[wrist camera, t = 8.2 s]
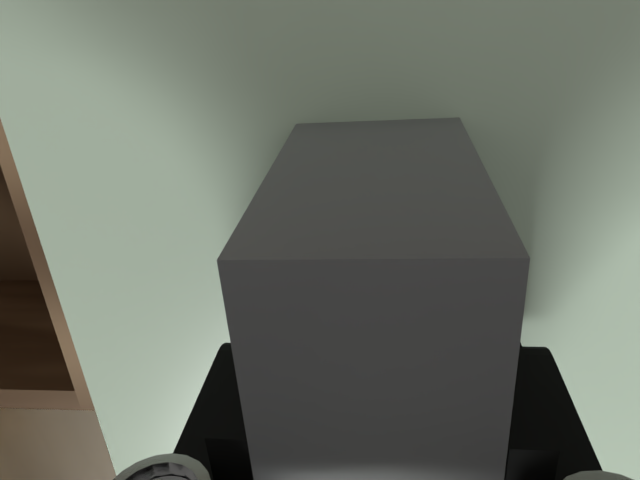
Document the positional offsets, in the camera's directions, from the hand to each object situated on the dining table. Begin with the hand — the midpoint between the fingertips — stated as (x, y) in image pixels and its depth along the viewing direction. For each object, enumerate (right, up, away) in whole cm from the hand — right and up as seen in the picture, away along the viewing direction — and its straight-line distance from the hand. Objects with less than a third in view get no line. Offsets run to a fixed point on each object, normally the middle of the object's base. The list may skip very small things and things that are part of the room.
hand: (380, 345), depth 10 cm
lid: (0, +1, +2) cm, 3 cm away
